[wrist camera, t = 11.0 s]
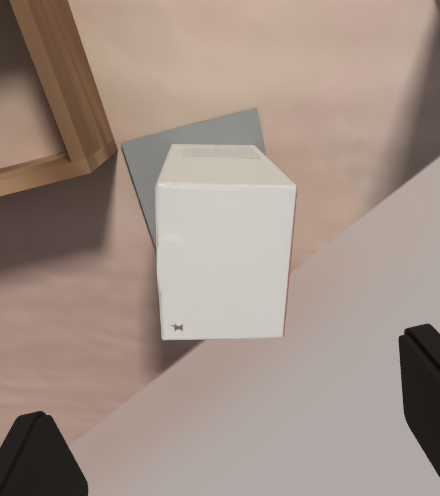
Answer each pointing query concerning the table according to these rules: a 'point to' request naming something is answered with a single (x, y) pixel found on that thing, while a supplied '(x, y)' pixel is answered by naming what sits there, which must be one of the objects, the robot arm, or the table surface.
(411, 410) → the robot arm
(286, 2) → the table surface
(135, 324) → the table surface
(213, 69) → the table surface
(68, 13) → the wooden cubby frame
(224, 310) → the small box
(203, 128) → the pad
